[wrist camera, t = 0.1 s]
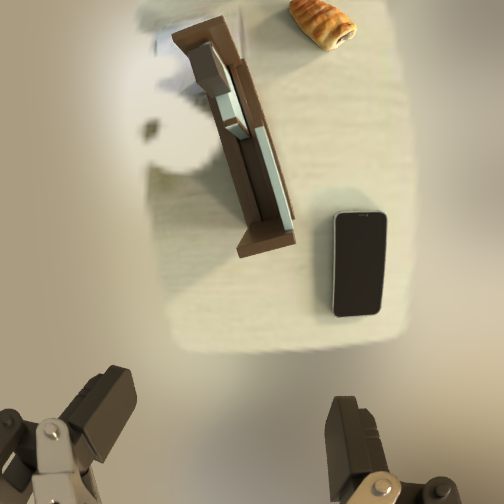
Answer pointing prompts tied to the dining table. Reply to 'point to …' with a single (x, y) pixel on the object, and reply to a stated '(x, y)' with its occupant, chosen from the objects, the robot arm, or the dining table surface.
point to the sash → (218, 87)
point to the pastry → (322, 23)
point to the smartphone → (358, 262)
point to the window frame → (247, 148)
